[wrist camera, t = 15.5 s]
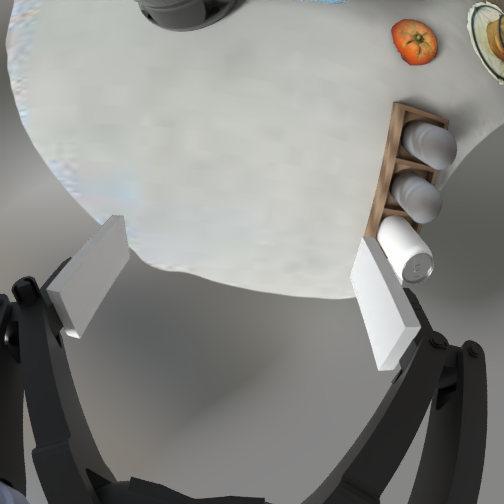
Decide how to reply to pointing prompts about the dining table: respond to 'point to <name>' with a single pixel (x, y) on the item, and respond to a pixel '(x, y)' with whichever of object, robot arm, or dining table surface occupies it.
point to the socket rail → (411, 168)
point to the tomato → (414, 42)
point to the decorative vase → (488, 37)
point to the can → (405, 249)
